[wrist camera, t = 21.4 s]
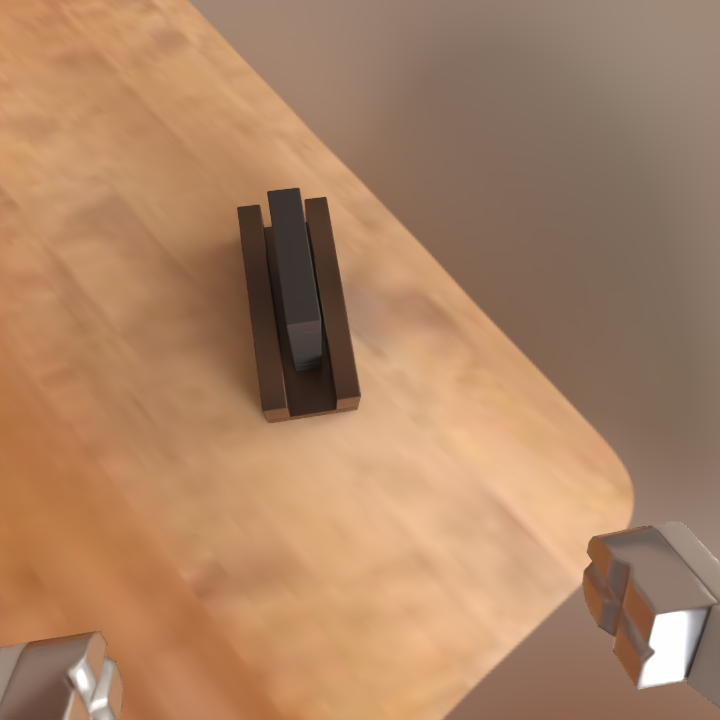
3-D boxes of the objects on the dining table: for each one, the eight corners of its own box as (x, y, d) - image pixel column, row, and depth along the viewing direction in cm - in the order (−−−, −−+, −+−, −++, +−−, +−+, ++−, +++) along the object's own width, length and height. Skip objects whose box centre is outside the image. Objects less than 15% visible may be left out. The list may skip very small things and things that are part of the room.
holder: (357, 409, 38) (361, 396, 34) (268, 423, 38) (262, 411, 34) (326, 226, 42) (326, 196, 38) (245, 236, 41) (237, 206, 38)
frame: (322, 367, 38) (321, 320, 29) (295, 372, 38) (286, 325, 29) (304, 260, 40) (299, 187, 31) (279, 263, 40) (267, 190, 31)
